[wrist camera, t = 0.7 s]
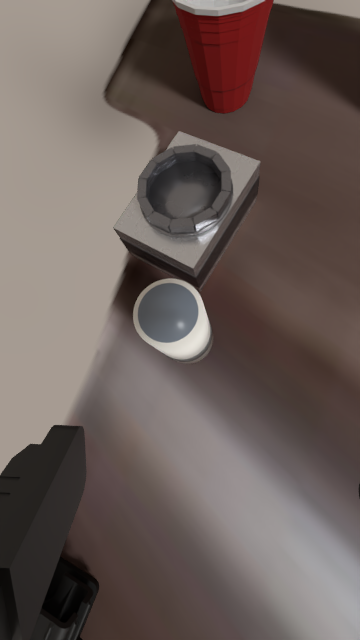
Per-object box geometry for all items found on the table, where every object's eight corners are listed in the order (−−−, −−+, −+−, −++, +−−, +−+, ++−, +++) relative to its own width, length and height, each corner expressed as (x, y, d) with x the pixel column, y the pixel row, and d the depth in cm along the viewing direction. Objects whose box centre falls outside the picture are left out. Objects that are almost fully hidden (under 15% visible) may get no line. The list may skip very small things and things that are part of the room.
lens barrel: (179, 305, 33) (156, 265, 23) (223, 329, 31) (218, 297, 21) (153, 347, 32) (117, 325, 22) (196, 374, 30) (179, 363, 21)
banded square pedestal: (187, 172, 36) (176, 117, 29) (256, 201, 34) (262, 148, 27) (132, 255, 35) (106, 219, 28) (200, 292, 33) (191, 262, 25)
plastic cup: (287, 71, 38) (311, -72, 26) (246, 140, 36) (252, 21, 25) (209, 52, 41) (200, -85, 29) (169, 115, 39) (142, -3, 28)
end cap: (-17, 606, 29) (-90, 667, 22) (18, 529, 30) (-41, 565, 23) (71, 673, 26) (18, 763, 20) (106, 585, 27) (67, 643, 21)
